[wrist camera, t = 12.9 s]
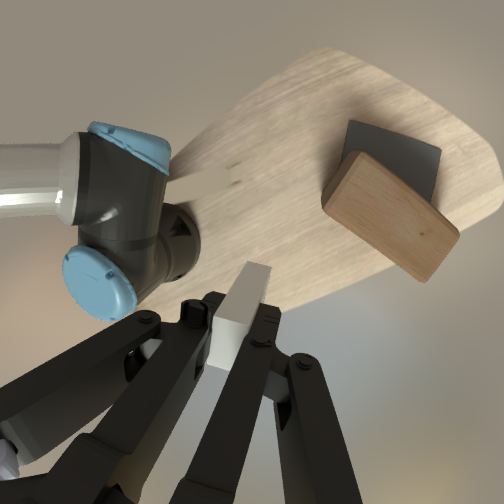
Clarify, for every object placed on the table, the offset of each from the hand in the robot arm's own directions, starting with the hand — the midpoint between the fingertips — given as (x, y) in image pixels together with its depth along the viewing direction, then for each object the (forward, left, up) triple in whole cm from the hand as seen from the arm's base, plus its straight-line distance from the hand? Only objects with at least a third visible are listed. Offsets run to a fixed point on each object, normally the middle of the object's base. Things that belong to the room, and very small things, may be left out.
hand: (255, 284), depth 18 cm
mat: (+15, +10, -32) cm, 37 cm away
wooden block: (+6, +7, -27) cm, 28 cm away
